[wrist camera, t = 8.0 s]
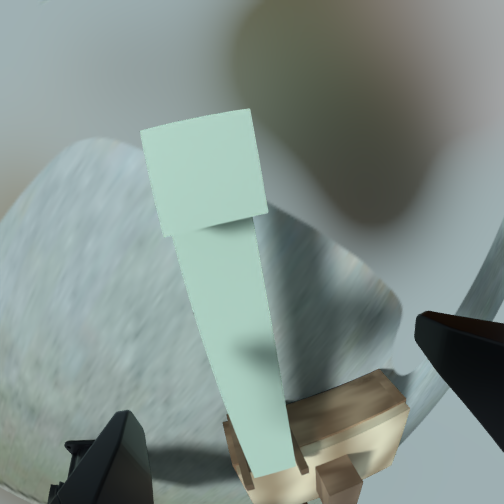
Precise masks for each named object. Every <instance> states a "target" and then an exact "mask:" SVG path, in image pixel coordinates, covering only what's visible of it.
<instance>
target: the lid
mask: <svg viewBox="0 0 504 504" xmlns="http://www.w3.org/2000/svg"><path fill="white" fill-rule="evenodd" d="M409 411H410V408H409V407H408V405H407V404H406V403H405V402H403V403H401V404H399V405H397V406H396V407H394V408H392V409H390V410H388V411H386V412H384V413H382V414H380V415H378V416H376V417H374V418H372V419H369V420H367V421H365V422H363V423H361V424H359V425H356V426H354V427H352V428H349V429H347V430H345V431H342V432H340V433H338V434H335V435H333V436H330V437H328V438H325V439H322V440H320V441H317V442H314V443H311V444H309V445H306V446H303V447H300V450H301V452H302V454H303V456H304V458H305V461H306V463H307V465H308V467H309V473H308V474H305V475H301V473H300V471H299V468H298V466H297V464H296V466H295V467H292V468H289V469H286V470H282V471H279V472H276V473H272V474H269V475H265V476H261V477H257V478H254V476H253V473H252V471H251V469H250V466H249V464H248V467H249V470H250V474H251V477H252V480H253V484H254V487H255V489H254V490H249V491H247V489H246V488H245V489H246V491H247V493H248V495H249V496H250V498H251V500H252V502H253V503H254V504H302V503H305V502H308V501H311V500H314V499H317V498H320V499H321V501H322V503H323V504H357V501H358V498H359V495H360V492H361V488H362V485H363V479H365V478H367V477H369V476H371V475H373V474H375V473H377V472H379V471H381V470H383V469H385V468H387V467H389V466H391V465H392V462H393V459H394V457H395V454H396V451H397V448H398V446H399V443H400V440H401V437H402V434H403V431H404V427H405V424H406V421H407V417H408V414H409ZM295 463H296V461H295ZM236 469H237V473H238V476H239V478H240V480H241V482H242V484H243V485H244V482H243V478H242V474H241V471H240V467H239V465H237V466H236ZM244 487H245V485H244Z"/></svg>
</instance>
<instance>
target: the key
mask: <svg viewBox="0 0 504 504" xmlns="http://www.w3.org/2000/svg"><path fill="white" fill-rule="evenodd" d="M140 134H141V140H142V145H143V150H144V155H145V160H146V165H147V169H148V174H149V179H150V183H151V188H152V192H153V196H154V200H155V205H156V209H157V213H158V217H159V221H160V225H161V229H162V233H163V237H164V238H165V237H169V236H172V238H173V242H174V246H175V250H176V253H177V257H178V261H179V265H180V268H181V272H182V275H183V279H184V282H185V286H186V289H187V293H188V296H189V299H190V303H191V306H192V309H193V313H194V316H195V319H196V322H197V326H198V329H199V332H200V335H201V338H202V341H203V344H204V347H205V350H206V353H207V356H208V359H209V362H210V365H211V368H212V371H213V374H214V377H215V379H216V382H217V385H218V388H219V390H220V393H221V396H222V399H223V401H224V404H225V407H226V409H227V412H228V415H229V417H230V420H231V422H232V425H233V428H234V430H235V433H236V435H237V438H238V440H239V443H240V445H241V447H242V450H243V452H244V455H245V457H246V459H247V462H248V464H249V466H250V469H251V471H252V473H253V476H254V478H257V477H261V476H265V475H269V474H272V473H276V472H279V471H282V470H286V469H289V468H292V467H295V466H296V463H295V457H294V451H293V445H292V439H291V433H290V427H289V421H288V415H287V409H286V404H285V398H284V392H283V386H282V380H281V375H280V369H279V363H278V357H277V352H276V346H275V340H274V334H273V329H272V323H271V317H270V312H269V306H268V300H267V295H266V289H265V284H264V278H263V272H262V267H261V261H260V256H259V250H258V245H257V239H256V234H255V228H254V223H253V216H257V215H262V214H266V213H268V207H267V201H266V196H265V190H264V185H263V178H262V173H261V167H260V161H259V156H258V151H257V145H256V139H255V134H254V128H253V124H252V118H251V112H250V109H243V110H236V111H230V112H224V113H219V114H213V115H207V116H202V117H197V118H192V119H187V120H182V121H178V122H173V123H169V124H165V125H161V126H157V127H153V128H149V129H145V130H141V131H140Z"/></svg>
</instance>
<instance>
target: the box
mask: <svg viewBox="0 0 504 504" xmlns="http://www.w3.org/2000/svg"><path fill="white" fill-rule="evenodd" d="M403 402H405V403H406V398H405V397H404V396H403V394H402V393H401V392H400V391H399V390H398V389H397V388H396V387H395V386H394V384H393V383H392V382H391V381H390V380H389V379H388V378H387V377H386V376H385V375H384V374H383V372H382V371H381V370H380V369H378V370H376V371H374V372H371V373H369V374H367V375H365V376H362V377H360V378H358V379H355V380H353V381H350V382H348V383H345V384H343V385H340V386H338V387H335V388H333V389H330V390H328V391H325V392H322V393H320V394H317V395H314V396H311V397H308V398H305V399H303V400H300V401H297V402H294V403H291V404H287V405H286V409H287V415H288V421H289V427H290V433H291V439H292V445H293V451H294V457H295V461H296V464H297V466H298V468H299V471H300V473H301V475H305V474H308V473H309V467H308V465H307V463H306V461H305V458H304V456H303V454H302V452H301V450H300V447H303V446H306V445H309V444H311V443H314V442H317V441H320V440H322V439H325V438H328V437H330V436H333V435H335V434H338V433H340V432H342V431H345V430H347V429H349V428H352V427H354V426H356V425H359V424H361V423H363V422H365V421H367V420H369V419H372V418H374V417H376V416H378V415H380V414H382V413H384V412H386V411H388V410H390V409H392V408H394V407H396V406H397V405H399V404H401V403H403ZM226 415H227V419H228V421H227V422H223V426H224V431H225V435H226V440H227V444H228V449H229V453H230V457H231V461H232V465H233V467H234V469H235V471H236V473H237V469H236V466H237V465H239V467H240V471H241V474H242V478H243V482H244V485H245V487H244V488H246V489H247V491H249V490H254V489H255V487H254V484H253V480H252V477H251V474H250V470H249V467H248V462H247V459H246V457H245V455H244V452H243V450H242V447H241V445H240V443H239V440H238V438H237V435H236V433H235V430H234V428H233V425H232V422H231V420H230V417H229V415H228V414H226ZM237 475H238V473H237ZM244 485H243V486H244ZM246 489H245V490H246ZM249 497H250V496H249ZM250 499H251V498H250ZM253 504H254V503H253ZM302 504H307V502H305V503H302Z"/></svg>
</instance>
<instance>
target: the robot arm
mask: <svg viewBox="0 0 504 504" xmlns="http://www.w3.org/2000/svg"><path fill="white" fill-rule="evenodd" d="M414 337H415V341H416V343H417V344H418V346H419V347H420V348H421V350H422V351H423V353H424V354H425V355H426V357H427V358H428V360H429V361H430V362H431V364H432V365H433V367H434V368H435V369H436V371H437V372H438V373H439V375H440V376H441V377H442V378H443V380H444V381H445V382H446V383H447V384H448V385H449V386H450V388H452V390H453V391H454V392H455V393H456V394H457V396H458V397H459V398H460V399H461V400H462V401H463V403H464V404H465V405H466V406H467V408H468V409H469V410H470V411H471V412H472V414H473V415H474V416H475V417H476V418H477V420H478V421H479V422H480V423H481V425H482V426H483V427H484V428H485V430H486V431H487V432H488V433H489V435H490V436H491V437H492V438H493V440H494V441H495V442H496V443H497V445H498V446H499V447H500V449H502V451H503V452H504V324H503V323H498V322H491V321H485V320H479V319H473V318H467V317H461V316H455V315H450V314H444V313H438V312H432V311H425V312H423V313H421V314H419V315H418V316H417V318H416V324H415V334H414ZM64 446H65V448H66V449H67V450H68V451H69V452H70V453H71V454H72V458H71V463H70V468H69V473H68V479H67V480H66V482H65V483H63V482H59V485H51V487H50V492H49V497H48V503H47V504H154V501H153V488H152V477H151V470H150V465H149V459H148V453H147V447H146V440H145V433H144V430H143V428H142V426H141V425H140V423H139V422H138V420H137V419H136V418H135V416H134V415H133V413H132V412H131V411H130V410H124V411H118V412H116V413H115V414H114V416H113V417H112V418H111V420H110V421H109V422H108V424H107V425H106V427H105V428H104V429H103V431H102V432H101V433H100V435H99V436H98V437H97V439H96V440H95V441H76V442H65V445H64Z"/></svg>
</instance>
